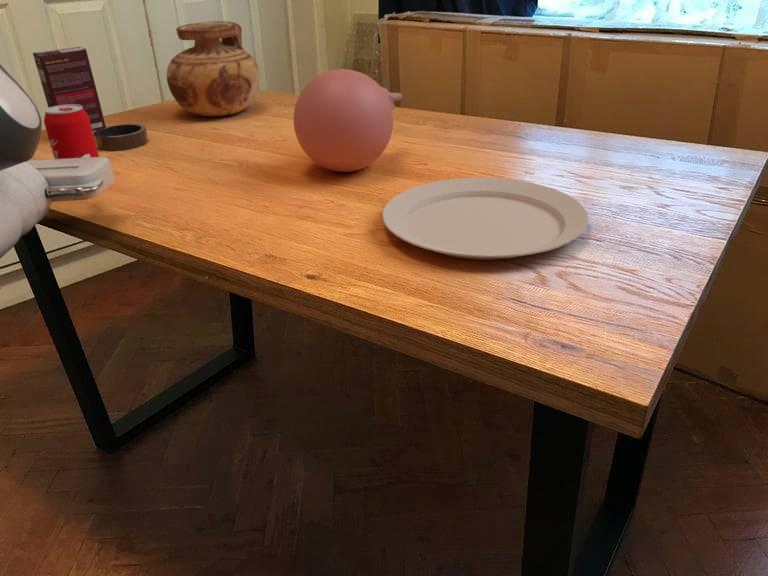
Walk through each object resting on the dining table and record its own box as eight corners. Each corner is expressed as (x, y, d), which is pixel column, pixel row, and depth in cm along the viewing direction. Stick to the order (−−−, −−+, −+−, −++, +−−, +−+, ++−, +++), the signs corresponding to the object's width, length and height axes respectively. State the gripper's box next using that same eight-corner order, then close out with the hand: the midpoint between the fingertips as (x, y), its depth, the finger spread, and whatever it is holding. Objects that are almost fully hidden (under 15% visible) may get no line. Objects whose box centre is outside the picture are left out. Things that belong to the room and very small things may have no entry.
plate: (626, 223, 83) (628, 208, 83) (500, 295, 68) (501, 278, 67) (470, 178, 100) (471, 165, 99) (341, 228, 85) (340, 214, 84)
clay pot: (227, 113, 128) (181, 10, 123) (172, 139, 140) (128, 45, 134) (288, 92, 142) (249, -2, 137) (233, 117, 154) (196, 31, 148)
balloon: (435, 163, 107) (436, 64, 100) (334, 193, 96) (326, 85, 89) (377, 143, 118) (373, 53, 110) (280, 168, 107) (269, 71, 100)
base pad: (96, 153, 118) (92, 139, 117) (97, 140, 126) (93, 127, 125) (149, 146, 121) (146, 133, 120) (147, 134, 129) (144, 121, 127)
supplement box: (99, 128, 134) (79, 45, 126) (107, 132, 130) (87, 48, 123) (55, 137, 129) (31, 52, 121) (62, 142, 126) (38, 54, 118)
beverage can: (88, 176, 107) (68, 101, 101) (113, 181, 104) (95, 105, 99) (54, 188, 103) (31, 110, 97) (79, 194, 100) (58, 114, 94)
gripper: (88, 167, 80) (121, 135, 92) (-84, 175, 79) (-28, 142, 91) (101, 215, 83) (131, 178, 95) (-66, 224, 82) (-13, 185, 94)
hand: (52, 161), depth 93 cm, fingers open, 8 cm apart
